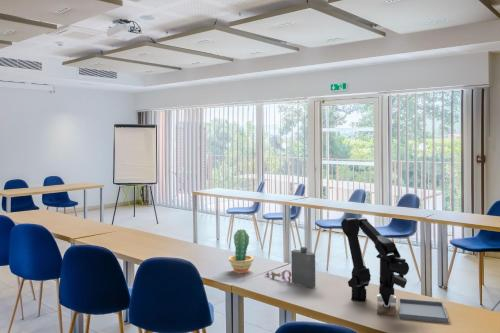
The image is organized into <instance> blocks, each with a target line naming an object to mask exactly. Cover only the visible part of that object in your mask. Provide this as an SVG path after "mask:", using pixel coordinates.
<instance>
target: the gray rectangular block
mask: <svg viewBox="0 0 500 333" xmlns="http://www.w3.org/2000/svg"><path fill="white" fill-rule="evenodd" d="M376 297H377V298H376V299H377V300H376V303H377V302H384V301H383V299H382V296H381V294H377V295H376ZM389 303H396V304H397V296H396V295H390V299H389ZM389 303H388V306H386V305H385V303H384V307H389Z"/></svg>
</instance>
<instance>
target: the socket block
mask: <svg viewBox="0 0 500 333" xmlns="http://www.w3.org/2000/svg"><path fill="white" fill-rule="evenodd" d="M376 303H377V309H376V312H377V315H383V316H384V315H387V316H397V302H396V303H389V307H384V302H377V301H376Z"/></svg>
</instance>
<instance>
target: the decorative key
mask: <svg viewBox="0 0 500 333" xmlns="http://www.w3.org/2000/svg"><path fill="white" fill-rule="evenodd" d="M286 272H287V273H288V276H287V277H285V273H286ZM264 275H266V277H270V276H271V278H272V279H273V278H275V277H278V278H281V279H282V280H283V281H284V282H285V283H286V284H287V283H290V282H292V271H291V270H289V269H285V270H283V271H281V272H279V273H276V272H274V271H271V273H270V272H269V271H268V272H266V273H265V274H264ZM286 278H287V279H288V280H287V279H286Z"/></svg>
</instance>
